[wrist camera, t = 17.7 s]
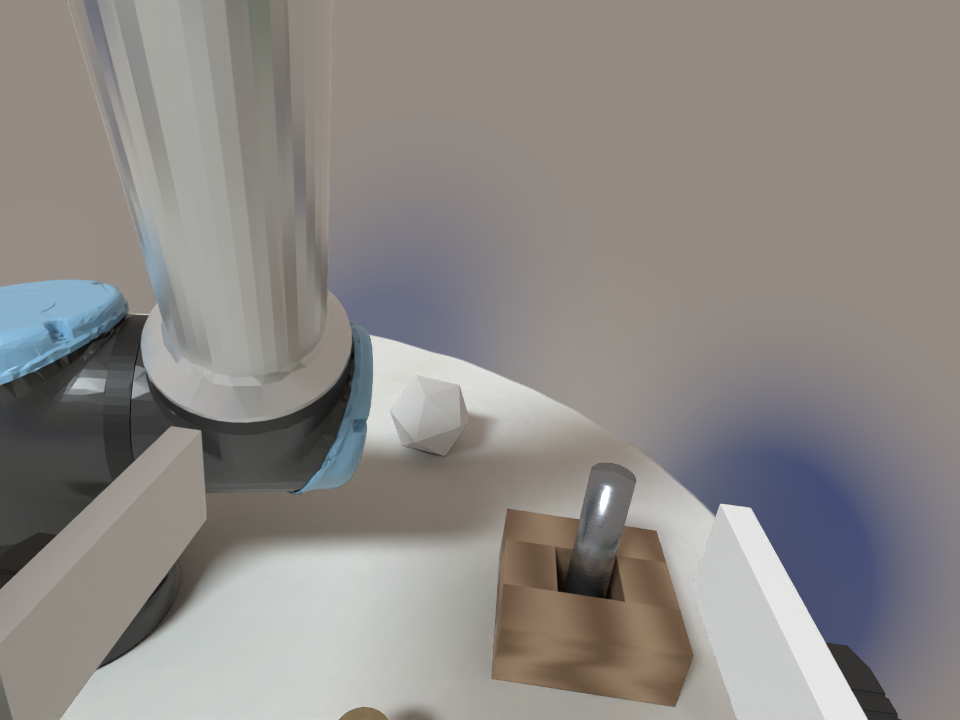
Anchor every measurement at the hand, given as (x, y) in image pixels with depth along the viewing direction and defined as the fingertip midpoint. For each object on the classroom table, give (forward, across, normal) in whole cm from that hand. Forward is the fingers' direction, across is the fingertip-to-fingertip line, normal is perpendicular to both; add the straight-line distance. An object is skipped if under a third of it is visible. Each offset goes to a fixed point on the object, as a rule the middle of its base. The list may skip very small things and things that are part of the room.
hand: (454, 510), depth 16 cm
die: (+48, -5, -29) cm, 56 cm away
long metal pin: (+24, +10, -28) cm, 39 cm away
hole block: (+24, +10, -28) cm, 39 cm away
